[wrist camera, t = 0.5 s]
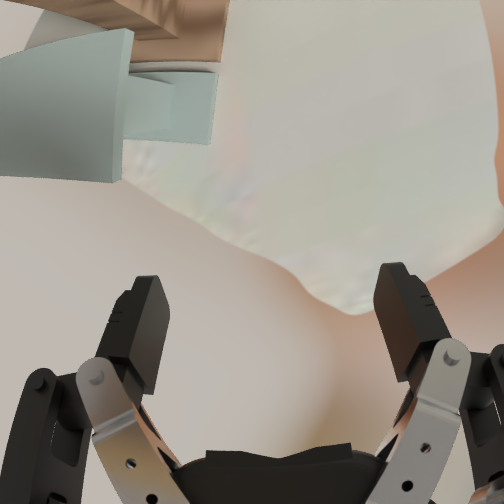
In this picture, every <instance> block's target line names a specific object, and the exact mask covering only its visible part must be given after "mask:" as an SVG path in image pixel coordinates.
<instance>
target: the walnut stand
mask: <svg viewBox="0 0 504 504" xmlns="http://www.w3.org/2000/svg"><path fill="white" fill-rule="evenodd" d="M6 1H11V2H16V3H21V4H26V5H30V6H34V7H38V8H42V9H46V10H50V11H53V12H57V13H61V14H64V15H67V16H71V17H74V18H77V19H80V20H84V21H87V22H90V23H93V24H96V25H98V26H101V27H104V28H107V29H109V30H116V29H123V28H126V29H129V30H131V31H133V32H134V38H133V44H132V51H131V58H130V63H139V62H163V61H198V62H220V60H221V53H222V46H223V39H224V33H225V26H226V20H227V14H228V8H229V2H230V0H6Z"/></svg>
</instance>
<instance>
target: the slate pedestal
mask: <svg viewBox="0 0 504 504" xmlns="http://www.w3.org/2000/svg"><path fill="white" fill-rule="evenodd" d="M133 38H134V32H133V31H131V30H129V29H126V28H123V29H116V30H109V31H103V32H97V33H91V34H86V35H81V36H76V37H72V38H67V39H63V40H59V41H55V42H51V43H48V44H44V45H40V46H37V47H33V48H30V49H27V50H24V51H21V52H18V53H15V54H12V55H9V56H6V57H3V58H1V59H0V176H17V177H35V178H52V179H66V180H79V181H92V182H103V183H114V182H116V181H119V180H121V179H122V148H123V139H127V140H149V141H165V142H179V143H191V144H202V145H208V144H210V142H211V133H212V124H213V115H214V106H215V98H216V90H217V82H218V74H216V73H203V72H142V73H129V65H130V58H131V51H132V44H133Z"/></svg>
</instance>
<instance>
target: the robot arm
mask: <svg viewBox="0 0 504 504" xmlns="http://www.w3.org/2000/svg"><path fill="white" fill-rule="evenodd" d="M430 295H431V294H430V293H429V291H428V289H427V287H426V285H425V284H424V283H423V282H422V281H421V280H420V279H419V278H418V277H417V276H416V275H409V273H408V271H407V269H406V267H405V265H404V264H403V263H402V262H395V263H383V264H382V265H381V267H380V271H379V275H378V279H377V284H376V288H375V292H374V298H373V301H374V309H375V312H376V315H377V318H378V321H379V324H380V327H381V330H382V333H383V335H384V339H385V342H386V345H387V348H388V351H389V354H390V358H391V361H392V364H393V367H394V371H395V374H396V378H397V381H398V382H404V381H408V382H409V385H410V388H409V390H408V392H407V394H406V396H405V398H404V401H403V403H402V405H401V407H400V409H399V412H398V414H397V416H396V418H395V420H394V422H393V424H392V426H391V428H390V430H389V432H388V433H387V435H386V437H385V438H384V440H383V441H382V443H381V444H380V446H379V448H378V449H377V451H376V453H375V454H374V455H372V454H369V453H366V452H362V451H357V450H352V448H351V443H345V444H337V445H330V446H321V447H315V448H312V449H309V450H306V451H303V452H300V453H297V454H294V455H290V456H287V457H284V458H272V457H267V456H261V455H257V454H252V453H248V452H243V451H212V450H211V451H210V450H206V457H205V458H201V459H197V460H194V461H192V462H189V463H187V464H185V465H183V466H182V465H181V464H180V462H179V461H178V459H177V458H176V457H175V455H174V454H173V453H172V451H171V450H170V449H169V448H168V446H167V445H166V443H165V442H164V441H163V439H162V437H161V436H160V434H159V432H158V431H157V429H156V427H155V426H154V424H153V422H152V421H151V419H150V417H149V416H148V414H147V413H146V410H145V409H144V407H143V405H142V404H141V401H142V396H143V394H149V395H153V394H154V389H155V384H156V379H157V374H158V369H159V364H160V360H161V355H162V351H163V346H164V342H165V337H166V333H167V328H168V324H169V320H170V309H169V304H168V301H167V299H166V296H165V293H164V290H163V287H162V284H161V282H160V279H159V277H158V276H157V275H154V276H138V277H136V279H135V282H134V284H133V287H132V289H131V290H125V291H124V293H123V294H122V295H121V296H120V297H119V298H118V299H117V300H116V303H115V305H114V308H113V310H112V314H111V315H110V318H109V320H108V321H109V323H107V325H106V328H105V331H104V333H103V336H102V339H101V341H100V344H99V347H98V350H97V352H96V355H95V357H94V358H91V359H89V360H87V361H85V362H84V363H83V364H82V365H81V366H80V368H79V369H78V371H77V372H76V373H71V374H67V375H61V376H56V375H55V374H54V373H53V372H52V371H51V370H50V369H48V368H40V369H37V370H35V371H34V372H33V373H31V374H30V376H29V377H28V379H27V381H26V383H25V386H24V389H23V392H22V395H21V398H20V401H19V404H18V407H17V411H16V414H15V417H14V421H13V424H12V428H11V431H10V435H9V439H8V443H7V447H6V451H5V456H4V460H3V465H2V470H1V475H0V504H81V497H82V489H83V480H84V473H85V467H86V460H87V454H88V448H89V442H90V436H91V431H92V428H93V429H94V432H95V433H94V434H93V435H92V442H93V444H94V447H95V449H96V451H97V453H98V456H99V458H100V460H101V462H102V464H103V466H104V468H105V471H106V472H107V474H108V477H109V478H110V481H111V482H112V484H113V486H114V488H115V490H116V492H117V494H118V496H119V497H120V499H121V501H122V503H123V504H436V503H435V502H434V501H432V500H431V499H430V498H431V496H432V494H433V492H434V490H435V488H436V486H437V483H438V481H439V479H440V477H441V474H442V472H443V470H444V467H445V465H446V462H447V460H448V457H449V455H450V452H451V450H452V447H453V444H454V441H455V439H456V435H457V433H458V430H459V427H460V423H461V420H462V424H463V428H464V432H465V437H466V441H467V446H468V451H469V456H470V461H471V466H472V472H473V478H474V484H475V492H474V493H473V495H472V496H471V498H470V501H469V503H468V504H504V344H500V345H497V346H496V347H495V348H494V349H493V350H492V352H491V353H490V354H486V353H476V352H470V351H469V350H468V348H467V347H466V345H464V344H463V343H462V342H461V341H459V340H456V339H453V338H452V337H451V335H450V333H449V331H448V329H447V326H446V325H445V322H444V320H443V318H442V316H441V314H440V312H439V310H438V308H437V306H435V303H434V300H433V298H432V297H431V296H430ZM494 401H495V404H496V407H497V410H498V413H499V417H500V421H501V424H500V421H499V418H498V414H497V410H496V407H495V404H494ZM458 409H459V412H460V415H459V414H458ZM55 423H56V424H55ZM54 427H55V428H54ZM53 431H54V433H53ZM52 436H53V437H52ZM51 440H52V442H51Z"/></svg>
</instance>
